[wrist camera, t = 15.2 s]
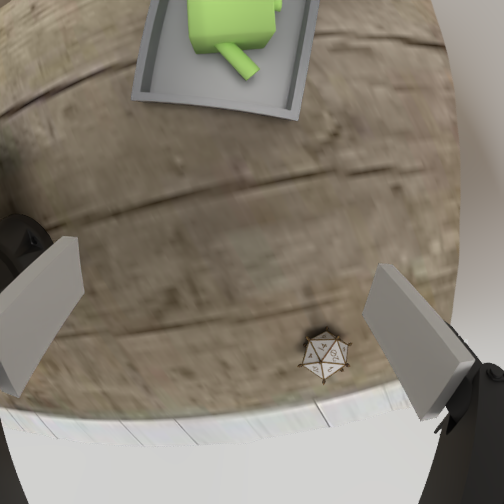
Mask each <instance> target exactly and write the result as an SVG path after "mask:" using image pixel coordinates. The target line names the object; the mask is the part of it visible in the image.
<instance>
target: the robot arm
mask: <svg viewBox="0 0 504 504" xmlns="http://www.w3.org/2000/svg"><path fill="white" fill-rule="evenodd" d="M84 293H85V292H84V286H83V279H82V272H81V264H80V256H79V246H78V237H70V236H62V237H61V238H60V239H59V240H58V241H56V242H55V243H54V244H53V242H52V241H51V239H50V237H49V235H48V234H47V233H46V231H45V230H44V229H43V228H42V227H41V226H40V225H39V224H38V223H37V222H36V221H34V220H33V219H31V218H30V217H27V216H25V215H21V214H14V215H10V216H8V217H6V218H4V219H3V220H1V221H0V388H1V390H2V392H5V393H7V394H10V395H13V396H15V397H18V398H19V397H20V395H21V393H22V391H23V389H24V388H25V386H26V384H27V382H28V381H29V379H30V377H31V375H32V374H33V372H34V370H35V368H36V367H37V365H38V363H39V362H40V360H41V358H42V357H43V355H44V353H45V352H46V350H47V349H48V347H49V345H50V344H51V342H52V341H53V339H54V337H55V336H56V334H57V333H58V331H59V330H60V328H61V327H62V325H63V323H64V322H65V320H66V319H67V317H68V316H69V314H70V313H71V312H72V310H73V309H74V307H75V306H76V304H77V303H78V301H79V300H80V298H81V297H82V296H83V294H84ZM362 315H363V317H364V319H365V321H366V322H367V324H368V326H369V327H370V329H371V331H372V333H373V334H374V336H375V338H376V340H377V341H378V343H379V345H380V347H381V348H382V350H383V352H384V354H385V355H386V357H387V359H388V361H389V363H390V364H391V366H392V368H393V370H394V372H395V374H396V375H397V377H398V379H399V381H400V383H401V385H402V387H403V388H404V390H405V392H406V394H407V396H408V398H409V400H410V402H411V404H412V405H413V407H414V409H415V411H416V413H417V415H418V417H419V419H420V421H424V420H428V419H433V418H436V417H437V416H438V415H439V414H440V412H441V411H442V409H443V408H444V407H445V406H446V408H447V410H448V411H449V413H448V414H447V416H446V417H445V418H444V419H443V421H442V422H441V423H440V425H439V426H438V427H437V428H436V430H435V431H434V433H435V434H436V433H437V432H438V431H439V430H440V429H442V431H441V434H440V438H439V442H438V446H437V450H436V453H435V456H434V460H433V463H432V466H431V470H430V472H429V476H428V478H427V481H426V484H425V487H424V490H423V492H422V495H421V498H420V500H419V503H418V504H504V371H503V370H502V369H501V368H500V367H499V366H497V365H495V364H492V363H484V364H482V363H481V361H480V360H479V359H478V358H477V356H476V355H475V354H474V353H473V351H472V350H471V349H470V348H469V346H468V345H467V344H466V343H465V342H464V340H463V339H462V338H461V337H460V336H458V333H457V332H456V331H455V330H454V328H453V327H452V326H451V325H449V324H448V323H447V322H445V321H444V320H443V319H442V318H441V317H440V316H439V315H438V314H437V313H436V311H435V310H434V309H433V308H432V307H431V306H430V305H429V303H428V302H427V301H426V300H425V299H424V298H423V297H422V296H421V294H420V293H419V292H418V291H417V290H416V289H415V288H414V287H413V286H412V285H411V284H410V282H409V281H408V280H407V279H406V278H405V277H404V276H403V275H402V274H401V273H400V272H399V271H398V270H397V269H396V268H395V266H394V265H393V264H382V263H378V267H377V270H376V273H375V276H374V280H373V283H372V286H371V289H370V292H369V295H368V298H367V301H366V304H365V307H364V310H363V313H362ZM0 504H28V501H27V499H26V496H25V494H24V491H23V489H22V486H21V484H20V481H19V478H18V476H17V473H16V470H15V467H14V465H13V461H12V459H11V455H10V452H9V449H8V445H7V443H6V438H5V435H4V431H3V427H2V423H1V419H0Z"/></svg>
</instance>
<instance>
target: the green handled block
mask: <svg viewBox="0 0 504 504" xmlns="http://www.w3.org/2000/svg"><path fill="white" fill-rule="evenodd" d="M281 8H282V0H187V14H188V33H189V39H190V42H191V44H192V47H193V49H194V51H195V53H196V54H208V53H219V52H220V53H221V54H222V55H223V56H224V58H225V59H226V60H227V61H228V62H229V63H230V64H231V65H232V66H233V67H234V68H235V69H236V70H237V71H238V72H239V74H240V75H241V76H242V77H243V78H244V79H245V80H246V81H247V80H248V79H249V78H250V77H252V76H253V75H254V74H255V73H256V72H258V71H259V70H260V68H259V67H258V66H257V65H256V64H255V63H254V62H253V61H252V60H251V59H250V58H249V57H248V56H247V55H246V54H245V53H244V52H243V51H242V50H250V49H262V48H264V47H265V46H266V45H267V43H268V42H269V40H270V39H271V38H272V36H273V34H274V33H275V31H276V24H275V11H277V12H280V11H281Z"/></svg>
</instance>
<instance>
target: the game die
mask: <svg viewBox="0 0 504 504" xmlns="http://www.w3.org/2000/svg"><path fill="white" fill-rule="evenodd" d="M325 330H326V331H325V332H323V333H321V334H320V335H318V336H316V337H314V338H312V339H310V338H309V337H306V339H307V340H308V344H307V345H306V344H303V345H304V347H306V350H305V354H304V358H303V362H302V364H299V365H298V366H297V367H302V366H304V367H305V368H307V369H308V370H310V371H311V372H313V373H314V374H316V375H317V376H318V377H320V378H321V379H323V381H322V383H323V385H324V384H325V382H326V381H325V379H327V378H328V377H330V376H331V375H333V374H334V373H336V372H337V371H339V370H340V371H341V372H343V369H342V368H343V367H344V366H345V365H346V366H347V367H350V365H349V364H348V363H347V364H346V362H347V353H348V346H351V345H352V343H349V344H346V343H345V342H343V341H342V340H340V339H339V338H340V337H339V336H337V337H336V336H334V335H333V334H331V333H330V332H328V327H326V328H325Z"/></svg>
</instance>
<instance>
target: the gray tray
mask: <svg viewBox="0 0 504 504" xmlns="http://www.w3.org/2000/svg"><path fill="white" fill-rule="evenodd" d="M319 2H320V0H282V8H281V11H280V12H277V11H275V24H276V31H275V33H274V34H273V36H272V38H271V39H270V40H269V42H268V43H267V45H266V46H265V47H264V48H262V49H250V50H242V51H243V52H244V53H245V54H246V55H247V56H248V57H249V58H250V59H251V60H252V61H253V62H254V63H255V64H256V65H257V66H258V67H259V68H260V70H259V71H258V72H256V73H255V74H254V75H253V76H252V77H250V78H249V79H248V80H247V81H246V80H245V79H244V78H243V77H242V76H241V75H240V74H239V72H238V71H237V70H236V69H235V68H234V67H233V66H232V65H231V64H230V63H229V62H228V61H227V60H226V59H225V58H224V56H223V55H222V54H221V53H220V52H219V53H208V54H196V53H195V51H194V49H193V47H192V44H191V42H190V39H189V33H188V14H187V0H151V3H150V7H149V11H148V14H147V19H146V23H145V27H144V31H143V36H142V40H141V45H140V50H139V55H138V60H137V65H136V71H135V76H134V82H133V88H132V95H131V100H133V101H140V102H154V103H169V104H181V105H191V106H201V107H209V108H217V109H225V110H232V111H239V112H246V113H252V114H258V115H264V116H269V117H275V118H280V119H285V120H290V121H298V119H299V114H300V108H301V103H302V98H303V92H304V87H305V81H306V76H307V71H308V65H309V59H310V54H311V48H312V43H313V37H314V31H315V25H316V20H317V14H318V8H319Z"/></svg>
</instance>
